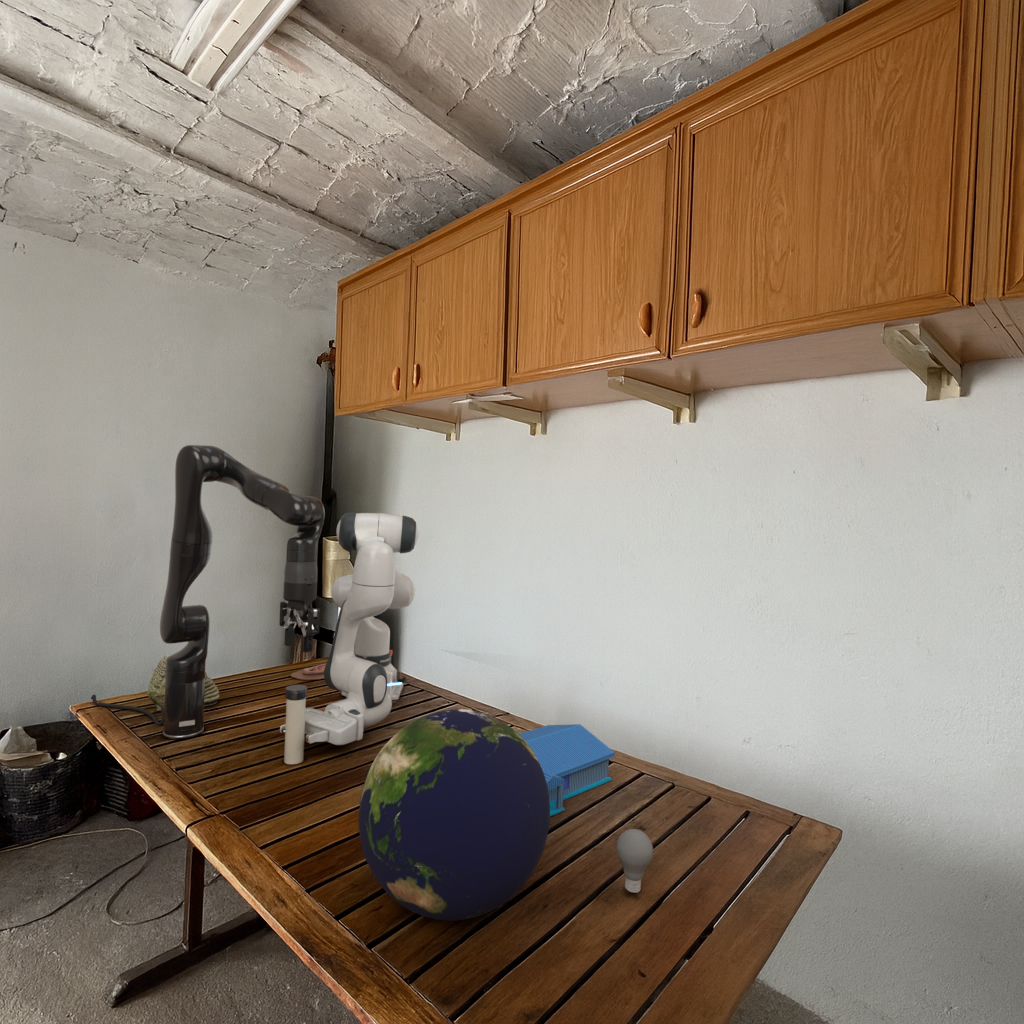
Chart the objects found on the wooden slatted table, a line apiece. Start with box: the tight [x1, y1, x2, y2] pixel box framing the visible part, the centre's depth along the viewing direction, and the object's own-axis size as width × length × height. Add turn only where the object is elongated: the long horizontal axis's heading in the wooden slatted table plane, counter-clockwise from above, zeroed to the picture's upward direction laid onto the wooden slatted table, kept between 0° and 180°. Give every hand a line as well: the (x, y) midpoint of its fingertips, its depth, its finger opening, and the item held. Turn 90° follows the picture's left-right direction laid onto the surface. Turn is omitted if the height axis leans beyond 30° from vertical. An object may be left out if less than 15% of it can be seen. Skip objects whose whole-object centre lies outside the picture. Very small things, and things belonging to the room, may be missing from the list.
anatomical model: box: [290, 662, 327, 681], centre depth 221 cm, size 13×4×12 cm
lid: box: [284, 684, 308, 700], centre depth 151 cm, size 5×5×2 cm
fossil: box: [147, 654, 221, 712], centre depth 185 cm, size 9×18×15 cm, turn 132°
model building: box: [518, 723, 615, 817], centre depth 141 cm, size 39×24×10 cm, turn 132°
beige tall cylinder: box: [283, 697, 307, 765], centre depth 151 cm, size 4×4×17 cm
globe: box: [358, 708, 551, 922], centre depth 100 cm, size 30×30×30 cm
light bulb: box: [615, 828, 654, 894], centre depth 106 cm, size 6×6×10 cm
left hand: (298, 648), depth 151 cm, fingers open, 7 cm apart
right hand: (294, 734), depth 151 cm, fingers open, 8 cm apart
